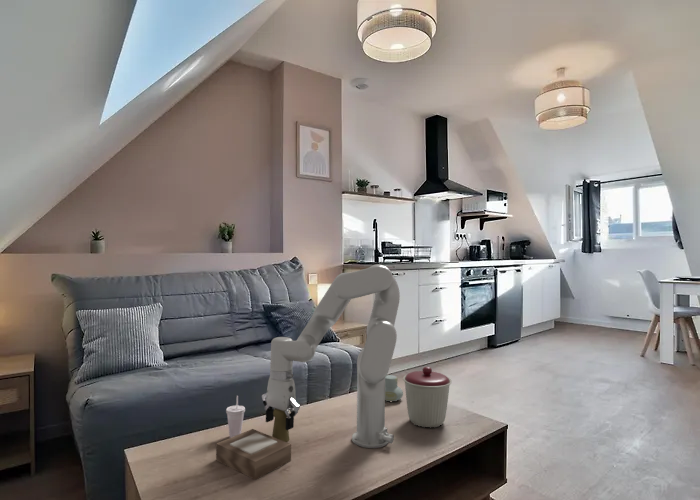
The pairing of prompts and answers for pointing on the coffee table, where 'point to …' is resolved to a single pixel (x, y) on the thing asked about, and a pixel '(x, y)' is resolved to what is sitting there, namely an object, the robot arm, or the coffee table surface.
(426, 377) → the canister
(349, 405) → the coffee table surface
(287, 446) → the pedestal
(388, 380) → the air freshener
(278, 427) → the cork
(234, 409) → the smoothie
